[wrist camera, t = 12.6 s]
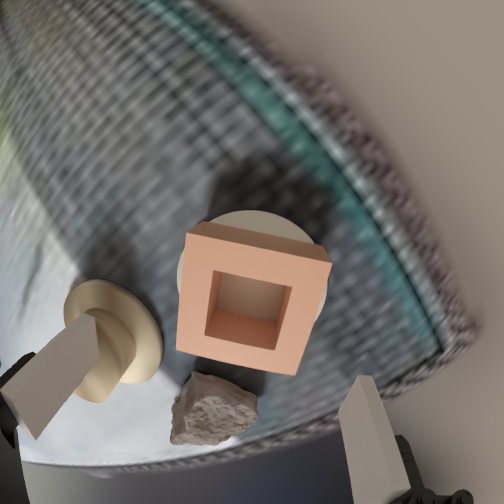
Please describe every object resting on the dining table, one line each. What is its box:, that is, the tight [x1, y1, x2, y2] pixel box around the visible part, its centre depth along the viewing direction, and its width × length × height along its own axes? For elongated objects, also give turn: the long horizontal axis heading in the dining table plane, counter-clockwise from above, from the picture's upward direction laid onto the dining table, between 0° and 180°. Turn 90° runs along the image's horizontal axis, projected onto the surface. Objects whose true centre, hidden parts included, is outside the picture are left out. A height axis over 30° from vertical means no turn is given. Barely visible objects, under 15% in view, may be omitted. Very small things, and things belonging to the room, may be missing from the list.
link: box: [176, 221, 332, 376], centre depth 20 cm, size 9×9×4 cm
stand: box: [53, 279, 164, 403], centre depth 19 cm, size 12×12×13 cm
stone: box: [170, 371, 259, 445], centre depth 24 cm, size 8×10×6 cm
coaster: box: [177, 210, 327, 322], centre depth 22 cm, size 12×12×1 cm
